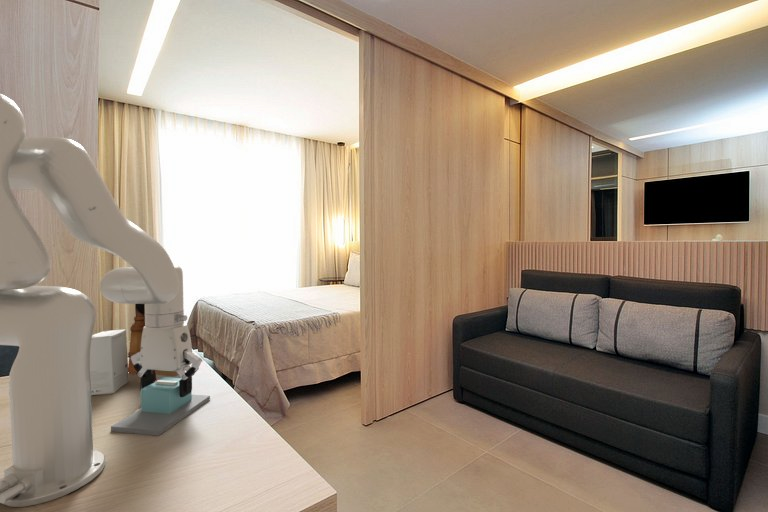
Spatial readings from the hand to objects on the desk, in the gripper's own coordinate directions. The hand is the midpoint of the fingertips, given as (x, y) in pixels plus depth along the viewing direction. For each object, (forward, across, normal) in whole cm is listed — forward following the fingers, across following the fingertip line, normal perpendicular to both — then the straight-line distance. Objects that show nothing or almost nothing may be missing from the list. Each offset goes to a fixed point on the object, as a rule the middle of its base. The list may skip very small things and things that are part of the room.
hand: (166, 393), depth 81 cm
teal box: (+3, 0, 0) cm, 3 cm away
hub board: (+4, -1, +2) cm, 4 cm away
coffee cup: (+4, +10, -13) cm, 17 cm away
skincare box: (+4, +24, -8) cm, 26 cm away
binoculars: (+4, +22, -20) cm, 30 cm away
